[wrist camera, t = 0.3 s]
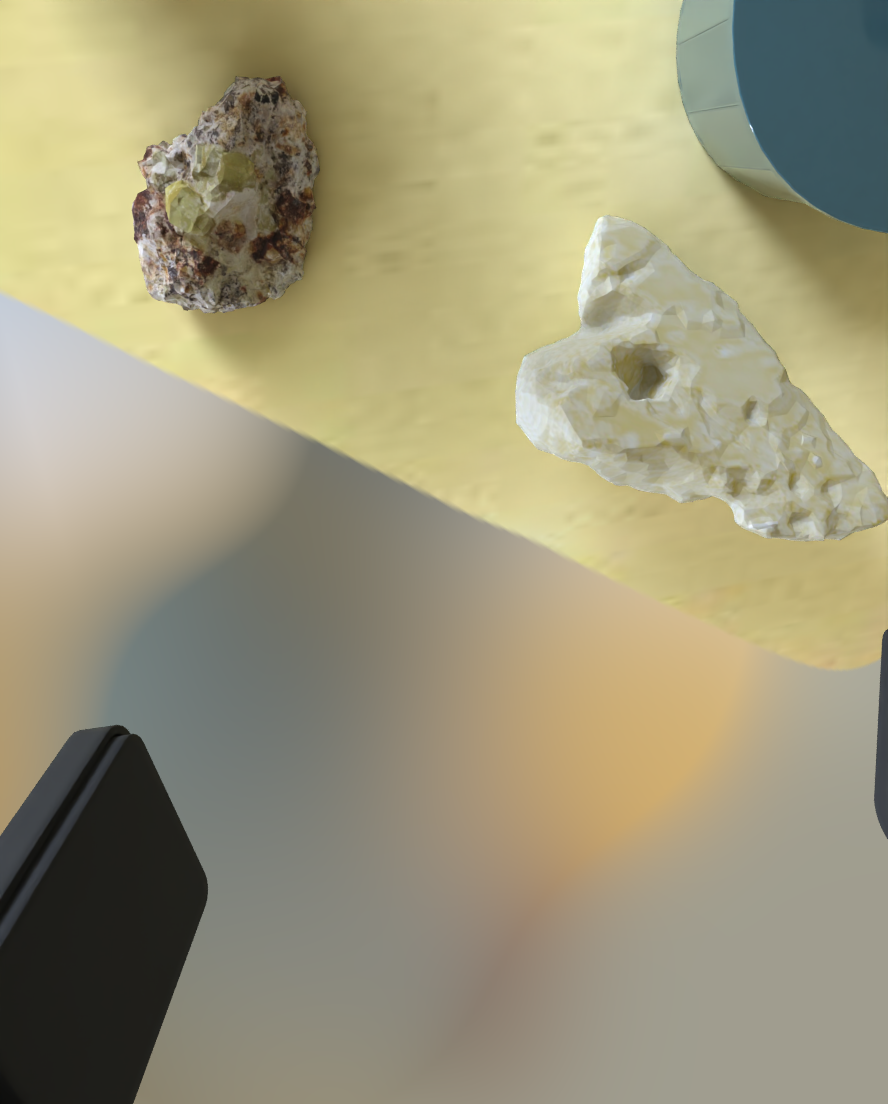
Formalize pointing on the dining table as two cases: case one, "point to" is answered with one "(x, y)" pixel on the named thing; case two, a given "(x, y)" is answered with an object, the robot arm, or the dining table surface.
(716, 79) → the jar
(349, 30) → the dining table surface
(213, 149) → the mineral rock
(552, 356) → the white coral rock
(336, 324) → the dining table surface
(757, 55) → the jar lid
